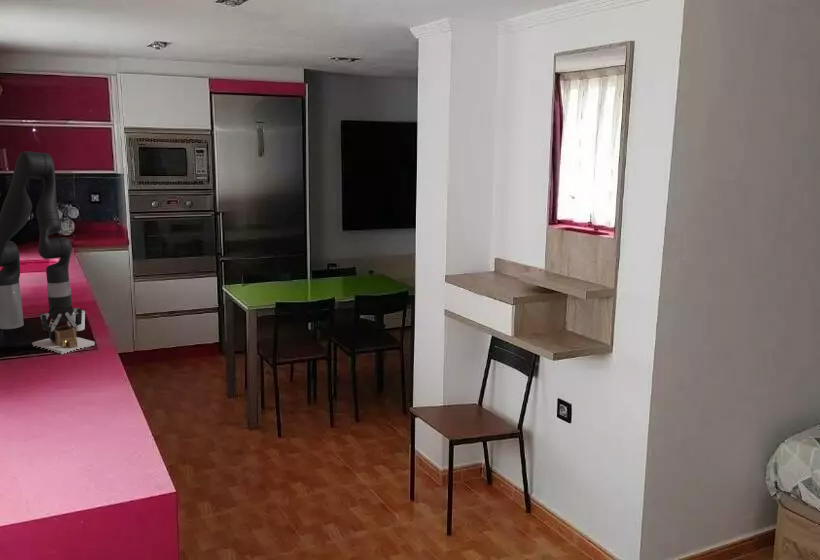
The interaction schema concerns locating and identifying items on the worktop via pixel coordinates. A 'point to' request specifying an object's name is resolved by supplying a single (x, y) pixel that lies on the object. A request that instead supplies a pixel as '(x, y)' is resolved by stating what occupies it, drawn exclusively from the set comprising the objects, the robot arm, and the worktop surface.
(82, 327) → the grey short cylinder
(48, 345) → the board
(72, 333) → the open wooden box
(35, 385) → the worktop surface
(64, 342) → the dowel
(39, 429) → the worktop surface
